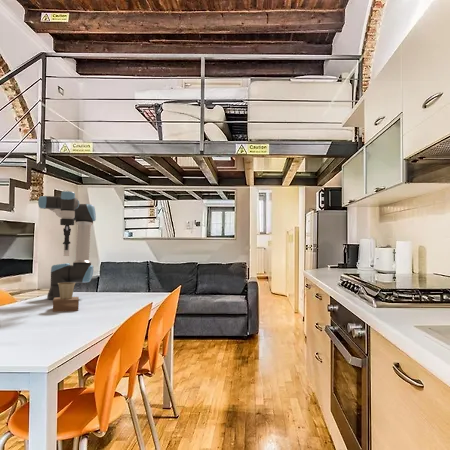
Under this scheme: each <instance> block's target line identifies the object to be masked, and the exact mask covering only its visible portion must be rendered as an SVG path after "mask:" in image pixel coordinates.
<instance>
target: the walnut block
mask: <svg viewBox="0 0 450 450" xmlns="http://www.w3.org/2000/svg"><path fill="white" fill-rule="evenodd" d="M79 301H80V298H79V296H72V298H71V299H60V297H55V298H54V300H52V312H54V313H55V312H77V311H79Z"/></svg>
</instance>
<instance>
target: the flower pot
mask: <svg viewBox="0 0 450 450" xmlns="http://www.w3.org/2000/svg"><path fill="white" fill-rule="evenodd" d="M58 285H59V291H60V299H71V298H72V297H73V293H74V288H75V285H76V283H71V282H65V283H58Z"/></svg>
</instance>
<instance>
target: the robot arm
mask: <svg viewBox="0 0 450 450" xmlns="http://www.w3.org/2000/svg"><path fill="white" fill-rule="evenodd" d="M37 203H38V208H39V209H43V210H46V209H47V210H49V211H51V212H52V213H55V215H56V216H57V217H59V218H60V222H59V223H60V224H59V225H60V226H64V228H63V236H64V240H63V242H62V245H63V256H64V257H69V256H70V244H71V241H70V236H71V232H72V229H71V227H70V226H74V225H75V224H76V226H77V229H76V230H77V231H76V248H75V260H74V261H73V263H72V264H70V263H69V262H67V263H58V264H53V265H52V266H51V268H50V286H49V290H48V293H47V295H46V297H47V298H46V299H47V300H52V301H53V300H54V298H55V297H60V291H59V285H58V283H65V282H71V283H77V284H78V283H79V284H80V283H83V284H84V283H90V282H91V281H92V278H93V275H94V265H93V264H92V261H90V246H91V227H92V226H93V224H94V222H96V220H97V216H96V208H95V206H94V205H93V204H91V203H89V204H88V203H80V201H79V198H77V197H76V193H75V192H74V191H71V190H70V191H67V190H64V191H61V194H60V195H59V196H52V195H50V196H49V195H41V196H39V197H38V201H37Z"/></svg>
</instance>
